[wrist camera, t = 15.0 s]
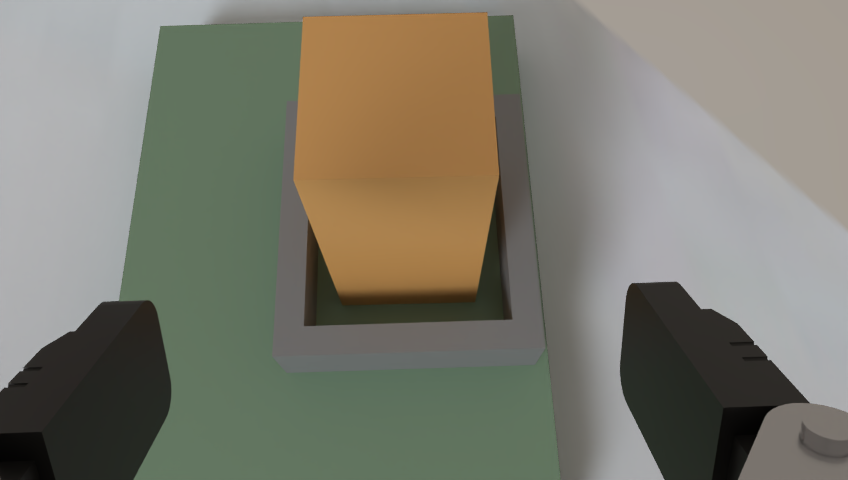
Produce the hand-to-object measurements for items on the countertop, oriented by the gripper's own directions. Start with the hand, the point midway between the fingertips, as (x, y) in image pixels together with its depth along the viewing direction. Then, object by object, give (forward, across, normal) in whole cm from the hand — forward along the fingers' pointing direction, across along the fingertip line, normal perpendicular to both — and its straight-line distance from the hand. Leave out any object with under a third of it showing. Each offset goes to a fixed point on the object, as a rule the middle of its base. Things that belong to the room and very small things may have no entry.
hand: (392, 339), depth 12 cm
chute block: (+15, 0, +4) cm, 15 cm away
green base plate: (+16, +3, +6) cm, 18 cm away
